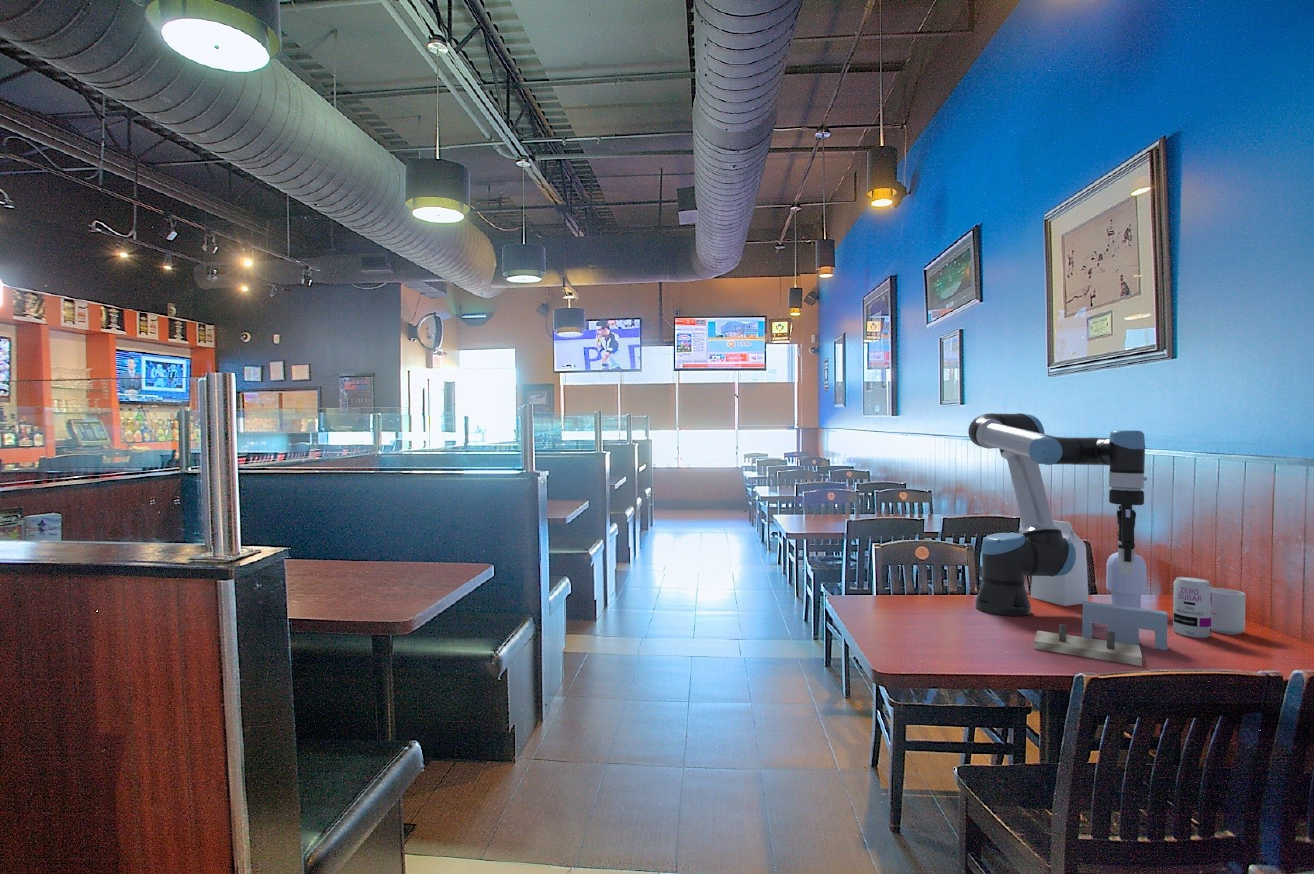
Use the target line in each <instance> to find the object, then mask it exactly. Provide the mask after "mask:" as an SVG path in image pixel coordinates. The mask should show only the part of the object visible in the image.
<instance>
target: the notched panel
mask: <svg viewBox="0 0 1314 874" xmlns="http://www.w3.org/2000/svg"><path fill="white" fill-rule="evenodd" d="M1081 621H1082V624H1081V625H1082V630H1081V631H1082V634H1081V637H1085V638H1091V639H1093V623H1095V624H1101V625H1107V626H1108V628H1107V629H1108V630H1107V631H1112V632H1115V642H1118V643H1125V644H1132V645H1139V646H1140V644H1139V641H1140V640H1139V639H1140V638H1139V635H1140V634H1139V633H1140V630H1145V631H1146V630H1147V631H1153V632H1154V646H1155V649H1156V650H1161V651H1168V612H1167V611H1166V610H1157V609H1149V608H1143V607H1141V608H1135V607H1127V606H1118V605H1111V603H1110V604H1108V603H1100V602H1092V601H1089V602H1086V601H1083V604H1082V620H1081Z"/></svg>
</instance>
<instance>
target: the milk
mask: <svg viewBox="0 0 1314 874" xmlns="http://www.w3.org/2000/svg"><path fill="white" fill-rule="evenodd" d="M1052 520H1053V524H1054V526H1055V527H1057V528H1059V529H1060V530H1061V533H1062V536H1063V538H1067V539H1069V540H1070V541H1071V542H1072V543H1073V545H1074V547H1075V550H1076V560H1075V564H1074V565H1073V568H1072V570H1071V571H1070V572H1069V573H1067V574H1065V575H1061V576H1053V577H1050V576H1031V585H1030V598H1031V599H1036V600H1039V601H1043V602H1047V603H1051V604H1056V605H1059V606H1062V607H1063V606H1064V607H1066V606H1067V607H1068V606H1074V605H1076V606H1077V605H1083V601H1086V602H1090V601H1089V600H1090V599H1089V585H1088V584H1089V583H1088V582H1089V581H1088V563H1087V547H1086V545H1085V542H1084V541H1083V540H1082V539H1081V538H1080V537H1079V536H1078V534H1077V533H1076V532H1075V531H1074V530H1073V526H1072V524H1071V522H1069V521H1060V520H1054V519H1052Z"/></svg>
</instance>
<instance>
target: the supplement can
mask: <svg viewBox="0 0 1314 874" xmlns="http://www.w3.org/2000/svg"><path fill="white" fill-rule="evenodd" d="M1172 583H1173V586H1172V588H1173V589H1172V591H1173V597H1172V603H1173V604H1172V630H1173V631H1175V633H1176V634H1178V635H1181V636H1184V637H1188V638H1197V639H1207V638H1209V637H1210V636H1212V631H1211V601H1212V588H1213V587H1212V585H1211V584H1210V581H1209V580H1207V579H1204V578H1200V577H1199V578H1198V577H1192V576H1178V577H1177V576H1176V578H1175V580H1174V581H1173V582H1172Z"/></svg>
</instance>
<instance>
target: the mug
mask: <svg viewBox="0 0 1314 874" xmlns="http://www.w3.org/2000/svg"><path fill="white" fill-rule="evenodd" d="M1245 630H1246V593H1245V592H1243V591H1240V590H1235V589H1231V588H1230V589H1229V588H1222V587H1212V601H1211V632H1214V633H1219V634H1223V635H1232V636H1234V635H1236V634H1238V635H1241V634H1243V633H1244V631H1245ZM1240 633H1241V634H1240ZM1236 636H1237V635H1236Z"/></svg>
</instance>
